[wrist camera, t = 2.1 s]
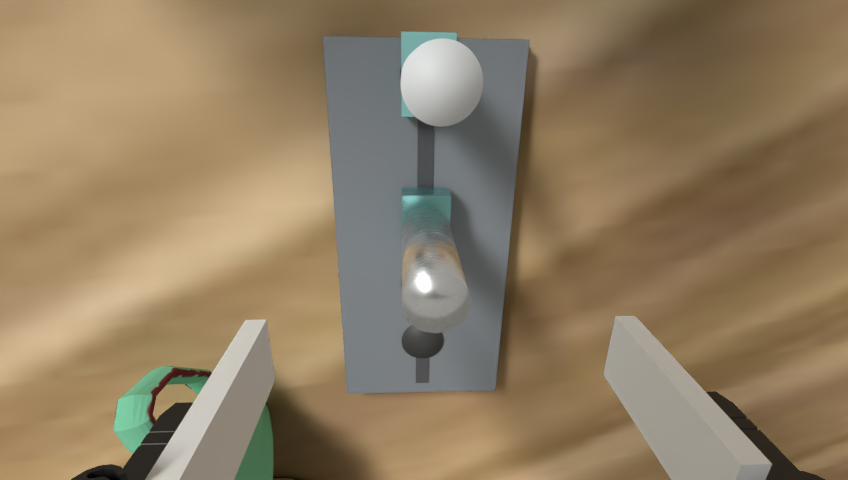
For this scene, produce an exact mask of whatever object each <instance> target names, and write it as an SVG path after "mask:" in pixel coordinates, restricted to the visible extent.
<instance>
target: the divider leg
mask: <svg viewBox="0 0 848 480" xmlns="http://www.w3.org/2000/svg"><path fill="white" fill-rule="evenodd" d="M450 215H451V194H450V191H449V188H402V310H403V313H404V316H405V318H406V319H407V321H408V322H409V323H410V324H411V325H412V326H414V327H415V328H417V329H419V330H421V331H424V332H428V333H442V332H446V331H449V330H451V329H453V328H455V327H457V326H458V325H459V324H461V323H462V322H463V320H464V319H465V318H466V316H467V315H468V312H469V310H470V304H471V300H470V295H469V291H468V287H467V284H466V280H465V277H464V273H463V270H462V266H461V263H460V259H459V256H458V252H457V249H456V245H455V242H454V238H453V235H452V231H451V228H450Z"/></svg>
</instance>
